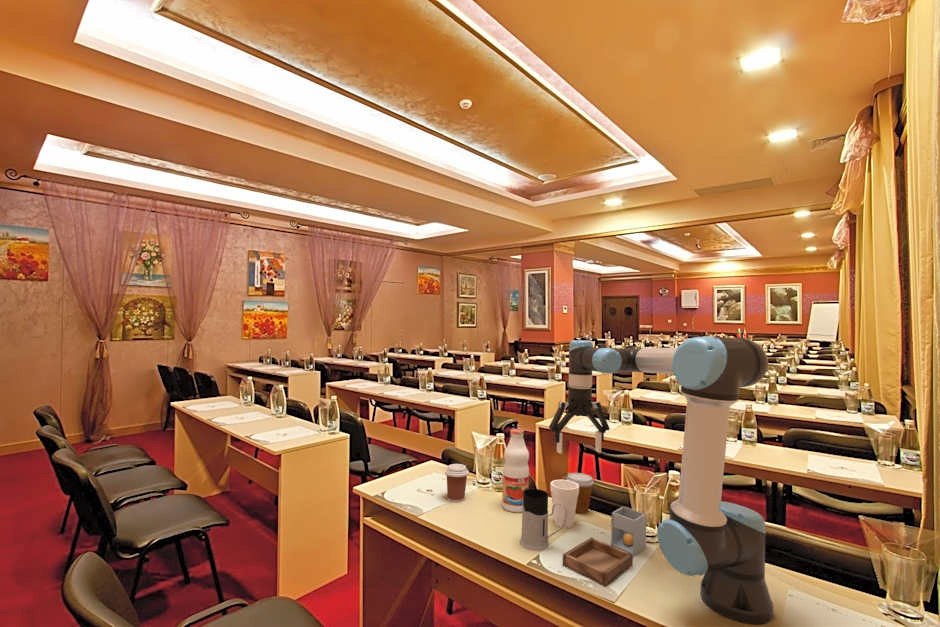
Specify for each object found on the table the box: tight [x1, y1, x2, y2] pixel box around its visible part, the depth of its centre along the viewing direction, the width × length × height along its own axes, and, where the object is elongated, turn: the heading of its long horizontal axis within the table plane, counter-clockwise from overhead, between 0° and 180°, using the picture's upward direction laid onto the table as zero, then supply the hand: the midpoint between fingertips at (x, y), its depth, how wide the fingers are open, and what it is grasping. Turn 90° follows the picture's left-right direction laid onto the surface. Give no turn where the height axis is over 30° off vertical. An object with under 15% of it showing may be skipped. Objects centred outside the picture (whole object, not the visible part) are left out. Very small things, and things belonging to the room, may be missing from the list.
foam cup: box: [550, 479, 579, 529], centre depth 148 cm, size 10×9×13 cm
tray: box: [562, 537, 634, 587], centre depth 122 cm, size 13×15×3 cm
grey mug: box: [519, 488, 567, 551], centre depth 132 cm, size 9×14×15 cm, turn 59°
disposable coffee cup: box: [566, 472, 595, 515], centre depth 159 cm, size 10×10×12 cm
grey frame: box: [610, 506, 647, 557], centre depth 133 cm, size 7×7×10 cm
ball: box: [623, 534, 633, 545], centre depth 133 cm, size 3×3×3 cm
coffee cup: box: [444, 463, 470, 503], centre depth 166 cm, size 9×9×12 cm
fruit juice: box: [501, 428, 530, 513], centre depth 160 cm, size 9×9×28 cm
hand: (578, 452), depth 144 cm, fingers open, 13 cm apart
